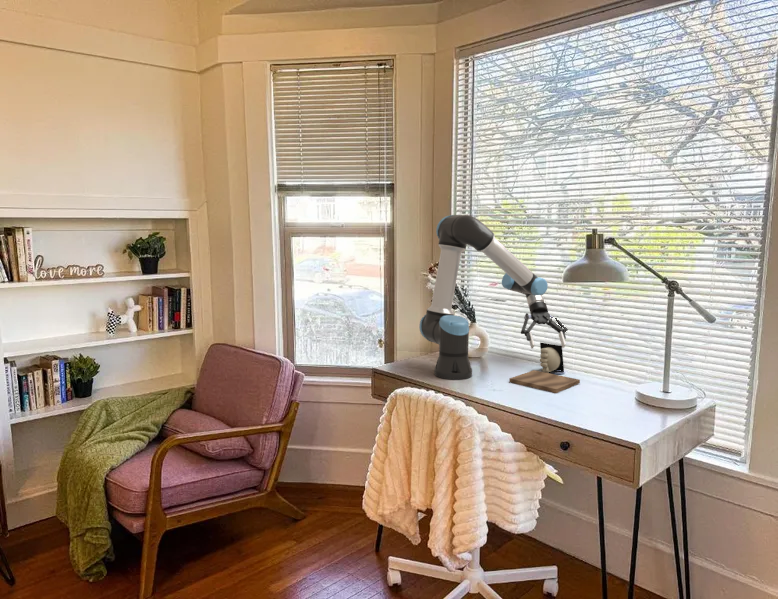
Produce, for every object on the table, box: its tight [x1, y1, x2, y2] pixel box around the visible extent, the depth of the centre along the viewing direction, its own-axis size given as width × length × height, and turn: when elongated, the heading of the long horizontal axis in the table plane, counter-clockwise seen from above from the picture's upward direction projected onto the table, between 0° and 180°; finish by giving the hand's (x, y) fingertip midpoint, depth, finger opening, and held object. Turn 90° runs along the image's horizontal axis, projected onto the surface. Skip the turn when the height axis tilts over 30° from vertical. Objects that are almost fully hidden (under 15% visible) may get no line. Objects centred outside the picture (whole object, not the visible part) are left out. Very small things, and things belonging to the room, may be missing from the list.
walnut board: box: [508, 369, 581, 394], centre depth 224 cm, size 20×18×2 cm
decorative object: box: [539, 342, 565, 373], centre depth 239 cm, size 12×10×10 cm
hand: (548, 346), depth 244 cm, fingers open, 13 cm apart
